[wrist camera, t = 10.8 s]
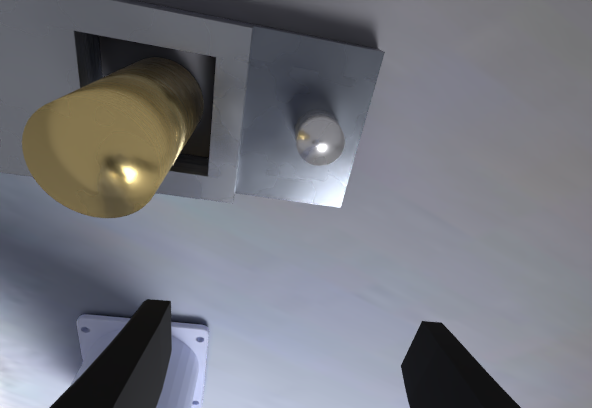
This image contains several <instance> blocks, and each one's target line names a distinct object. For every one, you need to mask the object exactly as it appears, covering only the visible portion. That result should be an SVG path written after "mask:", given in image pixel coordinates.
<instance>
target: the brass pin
mask: <svg viewBox="0 0 592 408" xmlns="http://www.w3.org/2000/svg"><path fill="white" fill-rule="evenodd" d="M203 108H204V102H203V96H202V92H201V89H200V87H199V85H198V83H197V81H196V80H195V78H194V77H193V76H192V75H191V73H189V72H188V71H187V70H186V69H185V68H184V67H182V66H181V65H179V64H178V63H176V62H174V61H171V60H168V59H165V58H158V57H152V58H146V59H142V60H140V61H138V62H136V63H133V64H131V65H129V66H127V67H125V68H123V69H121V70H118V71H116V72H114V73H112V74H110V75H108V76H106V77H103V78H101V79H99V80H97V81H95V82H93V83H90V84H88V85H86V86H84V87H82V88H80V89H78V90H75V91H73V92H71V93H69V94H67V95H65V96H63V97H60V98H58V99H56V100H54V101H52V102H50V103H47V104H45V105H44V106H42V107H41V108H39V109H38V110H37V111H36V112H34V113H33V114H32V116H31V117H30V118H29V120H28V121H27V123H26V126H25V128H24V132H23V136H22V150H23V155H24V159H25V162H26V164H27V167H28V169H29V171H30V173H31V175H32V176H33V178H34V179H35V180H36V182H37V183H38V184H39V185H40V187H41V188H42V189H43V190H44V191H45V192H46V193H47V194H48V195H50V196H51V197H52V198H53V199H55V200H56V201H57V202H59V203H61V204H62V205H64V206H66V207H67V208H69V209H71V210H74V211H76V212H78V213H81V214H85V215H88V216H93V217H99V218H117V217H123V216H127V215H129V214H132V213H134V212H136V211H138V210H140V209H141V208H143V207H144V206H145V205H146V204H147V203H148V202H149V201H150V200H151V198H152V197H153V196H154V194H155V192H156V191H157V189H158V188H159V186H160V184H161V183H162V181H163V180H164V178H165V176H166V175H167V173H168V172H169V170H170V168H171V167H172V165H173V164H174V162H175V160H176V159H177V157H178V156H179V154H180V152H181V151H182V149H183V148H184V146H185V144H186V143H187V141H188V140H189V138H190V136H191V135H192V133H193V132H194V130H195V128H196V127H197V125H198V124H199V122H200V120H201V117H202V114H203Z"/></svg>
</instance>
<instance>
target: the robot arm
mask: <svg viewBox="0 0 592 408" xmlns="http://www.w3.org/2000/svg"><path fill="white" fill-rule="evenodd" d="M76 325H77V331H78V337H79V342H80V348H81V354H82V360H83V363H82V365H81V367H80V369H79V371H78V373H77V374H76V376H75V378H74V380H73V382H72V384H71V386H70V387H69V388H68V389H67V390H66V391H65V392H64V393H63V394H62V395H61V396H60V397H59V399H58V400H57V401H56V402H55V403H54V404H53V405H52V406H51V407H50V408H202V405H203V394H204V383H205V372H206V361H207V350H208V339H209V328H208V327H207V326H205V325H200V324H189V323H178V322H171V301H163V300H150V299H147V300H146V301H144V302H143V303H142V305H141V306H140V307H139V309H138V310H137V311H136V312H135V314H134V315H133V316H132V318H122V317H111V316H100V315H89V314H83V315H80V316H79V318H78V319H77V321H76ZM401 368H402V373H403V379H404V384H405V389H406V393H407V398H408V402H409V405H410V408H521V407H520V406H519V405H518V404H517V403H516V402H515V401H514V400H513V399H512V398H511V397H510V396H509V395H508V394H507V393H506V392H505V391H504V390H503V389H502V388H501V387H500V386H499V384H498V383H497V382H496V381H495V380H494V379H493V378H492V377H491V376H490V375H489V374H488V373H487V372H486V370H485V369H484V368H483V367H482V366H481V365H480V364H479V363H478V362H477V361H476V359H475V358H474V357H473V356H472V355H471V354H470V353H469V352H468V351H467V350H466V348H465V347H464V346H463V345H462V344H461V343H460V342H459V341H458V340H457V339H456V337H455V336H454V335H453V334H452V333H451V332H450V331H449V330H448V329H447V328H446V327H445V326H444V325H443V324H442V323H439V322H426V321H422V322H421V325H420V327H419V329H418V331H417V333H416V335H415V337H414V339H413V341H412V344H411V346H410V348H409V350H408V352H407V354H406V356H405V358H404V360H403V363H402V365H401Z"/></svg>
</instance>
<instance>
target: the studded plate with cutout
mask: <svg viewBox="0 0 592 408" xmlns="http://www.w3.org/2000/svg"><path fill="white" fill-rule="evenodd" d="M99 35H100V36H106V37H111V38H116V39H122V40H127V41H133V42H138V43H143V44H149V45H154V46H159V47H165V48H170V49H176V50H181V51H186V52H192V53H197V54H203V55H208V56H213V57H216V67H215V82H214V97H213V111H212V126H211V141H210V155H209V158H207V157H200V156H193V155H186V154H179V156H178V157H177V159H176V160H175V162H174V164H173V165H172V167H171V168H170V170H169V172H168V173H167V175H166V176H165V178H164V180H163V181H162V183H161V184H160V186H159V188H158V189H157V191H156V192H155V193H158V194H166V195H173V196H181V197H188V198H196V199H203V200H211V201H218V202H226V203H233V200H234V196H235V193H238V194H245V195H252V196H259V197H267V198H274V199H281V200H288V201H296V202H303V203H310V204H317V205H325V206H332V207H339V208H340V207H341V204H342V200H343V197H344V193H345V190H346V186H347V183H348V179H349V176H350V172H351V169H352V165H353V162H354V158H355V155H356V151H357V148H358V144H359V141H360V137H361V134H362V130H363V127H364V123H365V120H366V116H367V112H368V109H369V105H370V102H371V98H372V95H373V91H374V88H375V84H376V81H377V77H378V74H379V70H380V67H381V63H382V60H383V56H384V53H385V52H383V51H381V50H380V49H376V48H371V47H366V46H361V45H356V44H351V43H346V42H341V41H336V40H331V39H326V38H321V37H316V36H311V35H306V34H301V33H296V32H291V31H286V30H281V29H276V28H271V27H266V26H261V25H256V24H251V23H246V22H241V21H236V20H231V19H226V18H221V17H216V16H211V15H206V14H201V13H196V12H191V11H186V10H181V9H176V8H171V7H166V6H161V5H156V4H151V3H146V2H141V1H136V0H0V172H2V173H9V174H16V175H24V176H31V177H33V176H32V175H31V173H30V171H29V169H28V167H27V164H26V162H25V159H24V155H23V150H22V136H23V132H24V128H25V126H26V123H27V121H28V120H29V118H30V117H31V116H32V114H33V113H34V112H36V111H37V110H38V109H39V108H41V107H42V106H44V105H45V104H47V103H50V102H52V101H54V100H56V99H58V98H60V97H63V96H65V95H67V94H69V93H71V92H73V91H75V90H78V89H80V88H82V87H84V86H86V85H88V84H90V83H93V82H95V81H97V80H99V79H101V78H102V67H101V55H100V43H99Z"/></svg>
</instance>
